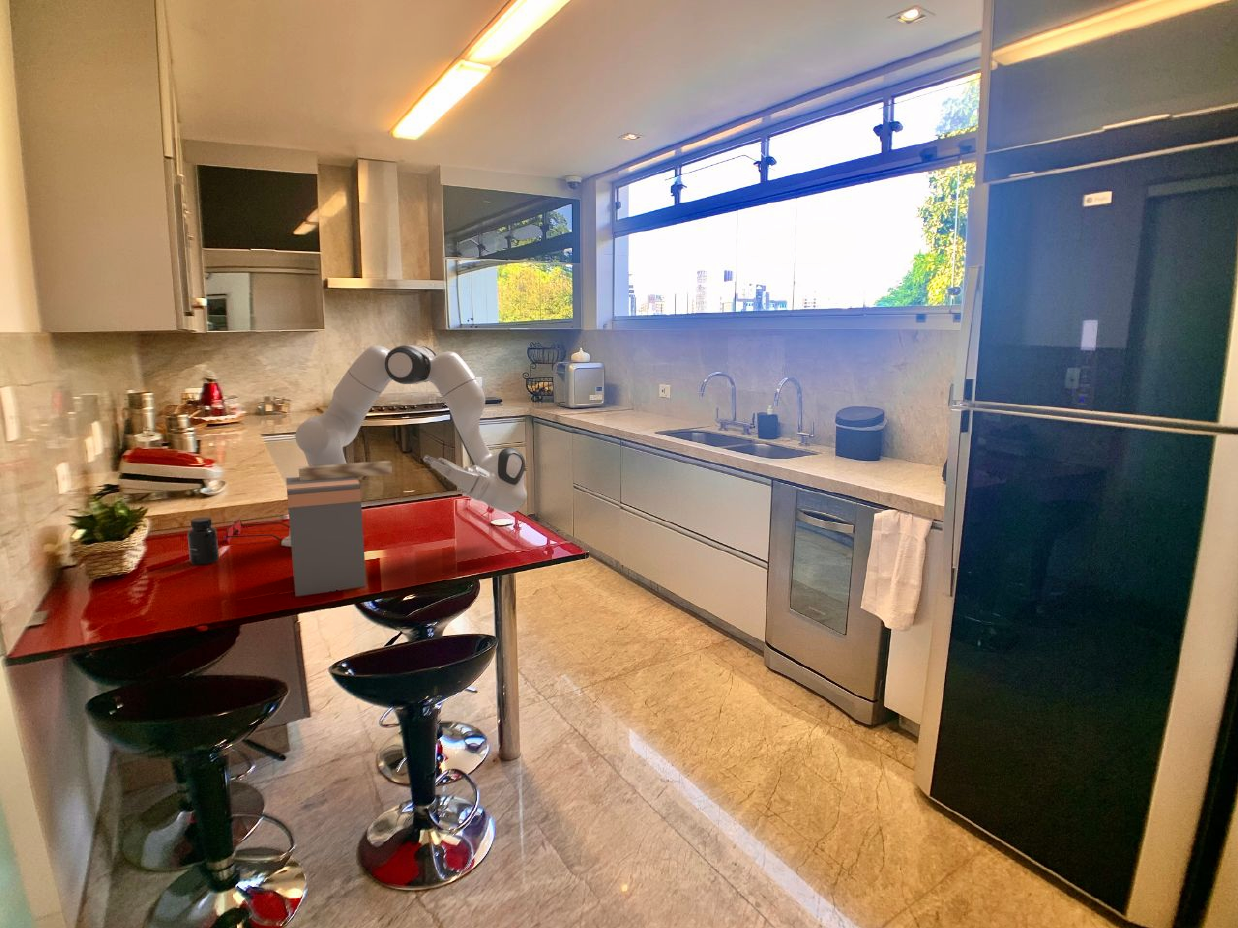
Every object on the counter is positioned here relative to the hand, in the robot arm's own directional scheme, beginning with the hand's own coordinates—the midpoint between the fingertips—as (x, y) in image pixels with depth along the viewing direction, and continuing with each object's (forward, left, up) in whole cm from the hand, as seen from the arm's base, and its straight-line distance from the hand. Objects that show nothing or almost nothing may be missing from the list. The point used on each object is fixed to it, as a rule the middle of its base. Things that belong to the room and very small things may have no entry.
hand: (428, 460), depth 183 cm
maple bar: (-16, -13, -3) cm, 21 cm away
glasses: (-62, +10, -29) cm, 70 cm away
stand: (-18, -20, -29) cm, 39 cm away
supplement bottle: (-60, -14, -29) cm, 68 cm away
